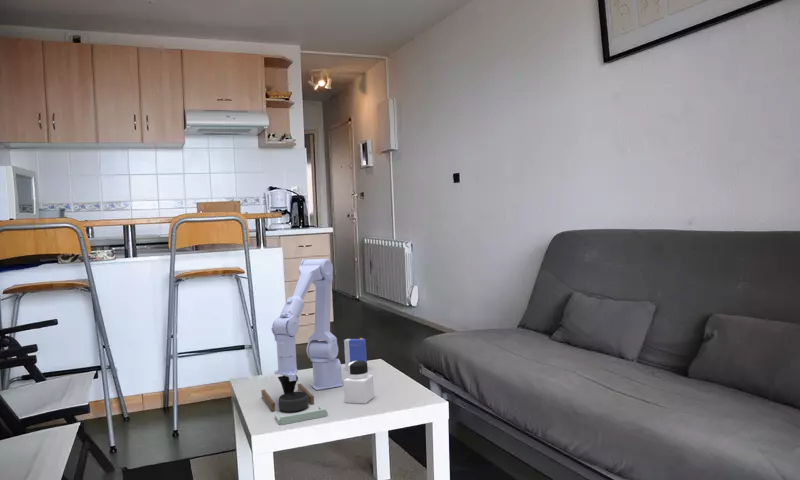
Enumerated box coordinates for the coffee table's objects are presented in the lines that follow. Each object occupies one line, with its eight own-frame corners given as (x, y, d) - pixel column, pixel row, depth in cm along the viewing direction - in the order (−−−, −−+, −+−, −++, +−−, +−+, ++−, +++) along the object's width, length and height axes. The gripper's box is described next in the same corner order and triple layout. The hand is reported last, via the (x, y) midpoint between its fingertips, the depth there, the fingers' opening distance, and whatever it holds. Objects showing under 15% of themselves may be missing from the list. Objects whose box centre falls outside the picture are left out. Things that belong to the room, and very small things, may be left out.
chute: (300, 391, 190) (300, 383, 189) (314, 404, 174) (313, 396, 174) (261, 397, 184) (261, 389, 184) (271, 411, 169) (271, 403, 169)
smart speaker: (273, 412, 168) (272, 398, 168) (289, 402, 177) (288, 390, 177) (299, 414, 165) (298, 400, 165) (314, 404, 173) (313, 391, 173)
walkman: (367, 369, 215) (365, 337, 215) (365, 371, 212) (363, 339, 212) (347, 369, 217) (346, 338, 217) (345, 370, 214) (343, 339, 214)
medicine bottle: (374, 397, 178) (372, 359, 178) (365, 404, 171) (363, 364, 171) (353, 396, 180) (351, 358, 180) (344, 403, 174) (342, 364, 173)
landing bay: (321, 409, 168) (321, 403, 168) (328, 416, 162) (327, 409, 162) (274, 418, 162) (274, 411, 162) (279, 425, 156) (279, 418, 156)
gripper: (269, 353, 181) (271, 395, 181) (278, 362, 167) (281, 407, 168) (291, 350, 184) (293, 391, 184) (301, 358, 170) (304, 403, 171)
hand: (289, 399), depth 176 cm, fingers closed
